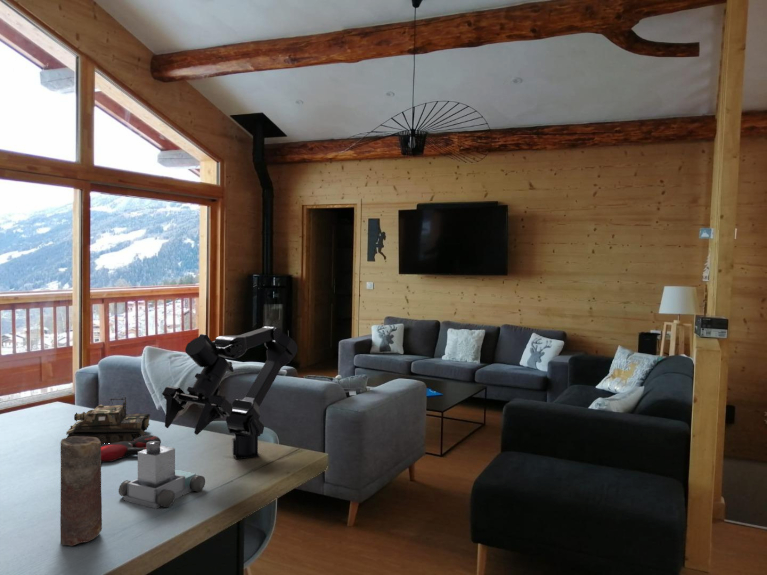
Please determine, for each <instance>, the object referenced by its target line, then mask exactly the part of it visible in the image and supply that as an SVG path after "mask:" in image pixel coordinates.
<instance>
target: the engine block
mask: <svg viewBox="0 0 767 575" xmlns="http://www.w3.org/2000/svg"><path fill="white" fill-rule="evenodd" d="M175 469H176V448H175V447H170V446H165V445H161V444H160V442H159V441H150V442H147V443H146V449H145V450H142V451H139V452H138V455H137V479H138V484H139V485H143V486H147V487H152V488H157V487H160V486H162V485H164V484H166V483H169V482H171V481H173V480H175Z"/></svg>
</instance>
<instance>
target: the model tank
mask: <svg viewBox="0 0 767 575" xmlns="http://www.w3.org/2000/svg"><path fill="white" fill-rule="evenodd" d="M119 400H121V401H123V403H122V404H121V405H120V404H119V405H118V404H117V405H113V404H114V403H113V402H112V401H119ZM109 401H110V402H111V403H112V404H111V405H103V404H99V405H97V406H94V409H89V410H87V412H85V411H83V412H81V413H78V412H76V413H75V414H74V417H73V418H74V421H75V423H74V424H72V425H70V427H69V429H68V430H67V431H66V433H65V434H66V438H68V437H72V436H80V437H96V438H98V439H99V440H100V441H101V446H103V445H102V444H104V443H105V444H106V443H107V445H108V443H110V444H112V443H116V442H123V441H128V442H130V441H134V440H135V439H136V438H138V437H141V436H145V434H146V431H147V430H148V428H149V426H150V418H151V415H150V414H148V413H147V412H146V413H145V412H141V413H127V396H124V397H120V398H116V397H115V398H110V400H109Z"/></svg>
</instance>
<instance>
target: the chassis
mask: <svg viewBox="0 0 767 575" xmlns="http://www.w3.org/2000/svg"><path fill="white" fill-rule="evenodd" d="M205 484H206V478H205V476H203V475H199V474H197V473H194V472H189V471H184V470H180V469H176V468H175V480H173V481H171V482H169V483H166V484H164V485H162V486H160V487H157V488H152V487H147V486H143V485H139V484H138V478H136V479H134V480H128V479H127V480H123V481H122V483H120V485H119V486H118V495H119V496H121V497H122V498H123V501H124V500H125V502H129V503H133V504H137V505H141V506H145V507H149V508H153V509H158V508H160V507H164V508H169V507H171V506H172V505H173V504H174V502H175V500H176V498H177V499H178V498H180V497H182V495H183V496H185V495H187V494H189V493H190V492H191V493H192V492H193V491H194V492H199V493H200V492H202V490H203V489H204V488H205Z"/></svg>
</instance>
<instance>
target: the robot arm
mask: <svg viewBox="0 0 767 575" xmlns="http://www.w3.org/2000/svg"><path fill="white" fill-rule="evenodd" d="M260 345H264V347H265V348H266V349H267V350H266V358H267V359H266V361H265V362H264V364H263V366H262V368H261V369H260V371H259V372H258V374H257V376H256V378H255V379H254V381H253V383H252V384H251V386H250V388H249V390H248V391H247V393H246V394H245V396H244V398H242V399H236V398H235V399H234V400H233V401H232V403H231V402H230V401H229V399H228V398H227V397H226V396H223V395H220V393H221V390H222V387H221V382H222V381H223V379H224V377H225V376H226V374H227V373H233V372H234V366H233V362H232V361H228V360H227V359H238V358H240V357H242V356H243V355H245V354H246V352H247V351H248V350H249V349H251V348H254V347H258V346H260ZM184 352H185V354H187V355H188V357H189V358H190V359H191V360H192V361H193V362H195V364H196V365H197V366H198V367H200V368H202V370H201V372H200V373H196V374H195V375H194V378H195V379H196V380H195V382H194V384H193V385H192V387H191V386H188V387H187V389H186V392H188V393H185V391H184V390H182V389H181V387H179V386H171V385H168V386H166V387H165V388H164V390H163V391H162V393H161V395H162V396H163V398H164V399H165V400H166V401H165V403H166V404H165V405H166V406H165V420H164V427H165V428H166V429H169V428H170V426H172V424H173V422H174V420H175V419H176V417H177V415H178V414H179V412H181V411H182V410H185V409H184V408H185V405H187V403H189V404H190V403H191V404H195V405H197V407H198V408H201V413H200V415H199V418H198V421H197V423H196V426H195V428H194V431H193V433H194V434H195V435H196V436H197V435H199V434H200V433H202V431H203V430H204V429H205V428H206V427H207V426H209V425H210V423H212V422H214V420H217V419H223V418H225V422H226V423H225V424H226V427H227V430H228V433H229V434H232V435H233V436H234V437H233V438H232V439H231V445H232V446H231V453H232V455H233V456H234V459H235V460H240V459H250V458H251V459H252V458H258V457H260V454H259V439H258V438H259V437H260V436H261V435H263V434H264V429H265V426H264V424H263V423H262V421H260V417H261V414H260V413H261V412H260V411H261V410H260V406H261V404H262V402H263V401H264V399H265V398H266V396H267V394H268V392H269V391H270V388H271V386H272V385H273V383H274V381H275V380H276V378H277V377H278V375H279V373H280V371H281V369H282V368H283V367H285V366H286V365H288V364H290V363H291V361H293V359H294V358H295V357H296V355H297V353H298V345H297V342H296V341H295V340H293V338H292V337H291V336H289V335H287V334H286V333H284V332H282V330H281V329H280V328H279V327H277V326H268V325H264V326H262V327H261V328H257V329H255V330H252V331H248V332H245V333H242V334H238V335H219V336H217V337H216V338H215V339H214V340H213V341H212V340H211V339H210V336H208V334H205V333H201V334H199V336H198V337H196V338H193V339H192V340H191V341H189V342H188V343H187V344H186V346H185V351H184ZM226 358H227V359H226Z"/></svg>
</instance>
